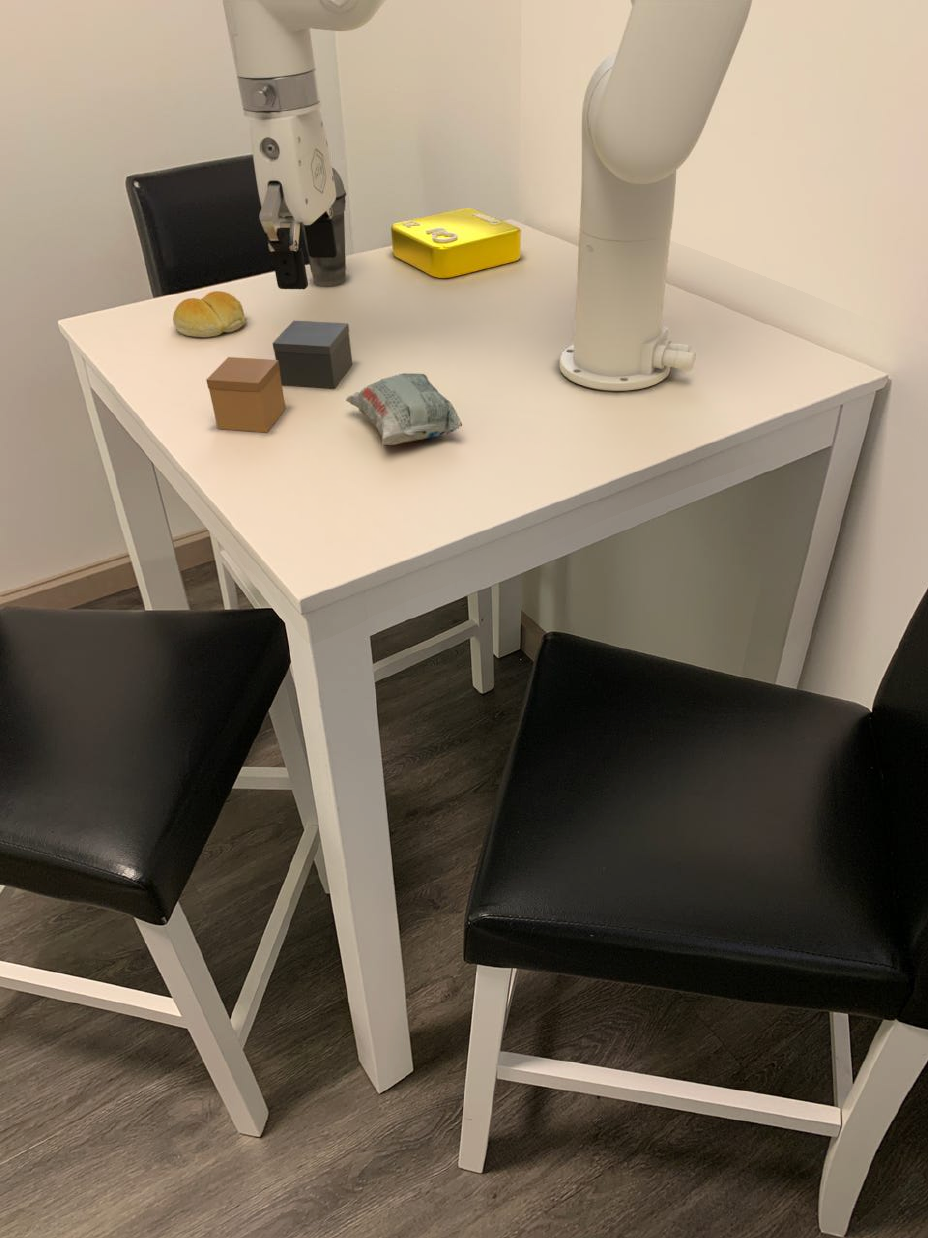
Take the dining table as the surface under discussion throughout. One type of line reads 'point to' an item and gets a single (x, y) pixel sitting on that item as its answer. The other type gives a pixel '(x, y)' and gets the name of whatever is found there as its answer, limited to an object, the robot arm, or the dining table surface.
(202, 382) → the dining table surface
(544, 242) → the dining table surface
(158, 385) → the dining table surface
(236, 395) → the kraft box
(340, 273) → the beverage cup
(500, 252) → the element tile
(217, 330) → the bread roll
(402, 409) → the packaged food
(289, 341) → the charcoal box
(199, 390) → the dining table surface
